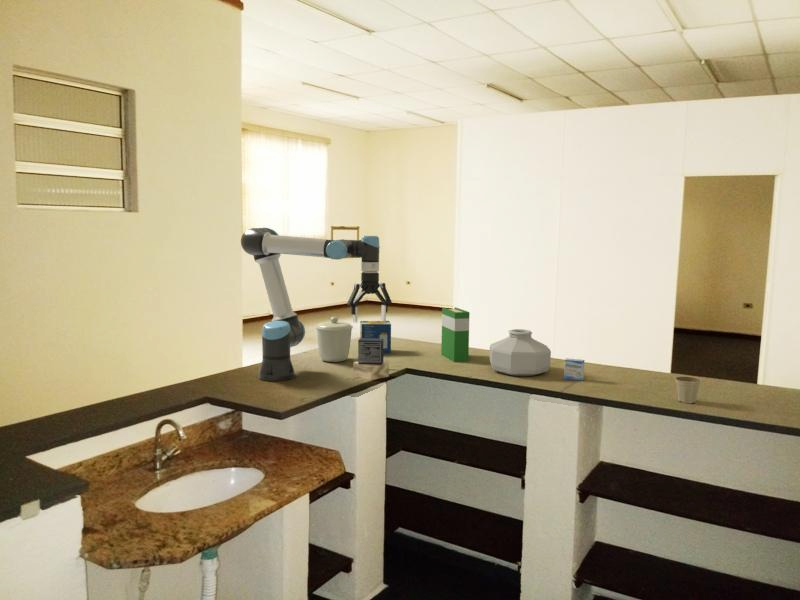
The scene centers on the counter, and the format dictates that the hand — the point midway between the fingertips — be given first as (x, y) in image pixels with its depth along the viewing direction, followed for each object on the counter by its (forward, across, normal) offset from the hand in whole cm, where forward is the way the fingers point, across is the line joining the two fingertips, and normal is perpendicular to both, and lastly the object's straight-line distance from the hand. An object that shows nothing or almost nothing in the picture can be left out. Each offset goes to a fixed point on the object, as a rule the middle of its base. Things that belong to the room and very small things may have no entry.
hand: (369, 321), depth 280 cm
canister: (+24, -1, +36) cm, 43 cm away
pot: (+24, +65, -23) cm, 72 cm away
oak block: (+24, +1, -1) cm, 24 cm away
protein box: (+24, +26, +45) cm, 58 cm away
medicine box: (+23, +76, -46) cm, 92 cm away
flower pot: (+23, +89, -91) cm, 130 cm away
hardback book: (+24, +54, +14) cm, 61 cm away
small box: (+18, +1, -1) cm, 18 cm away
